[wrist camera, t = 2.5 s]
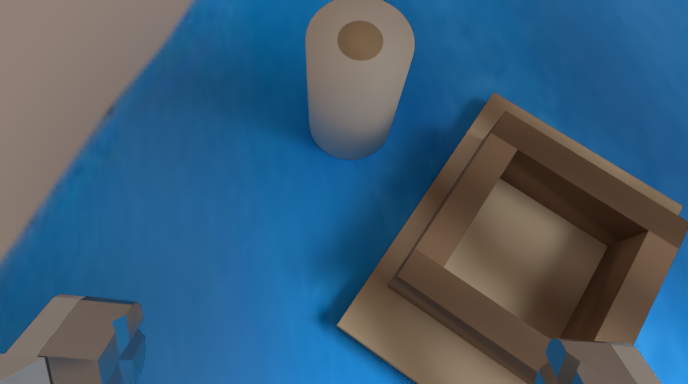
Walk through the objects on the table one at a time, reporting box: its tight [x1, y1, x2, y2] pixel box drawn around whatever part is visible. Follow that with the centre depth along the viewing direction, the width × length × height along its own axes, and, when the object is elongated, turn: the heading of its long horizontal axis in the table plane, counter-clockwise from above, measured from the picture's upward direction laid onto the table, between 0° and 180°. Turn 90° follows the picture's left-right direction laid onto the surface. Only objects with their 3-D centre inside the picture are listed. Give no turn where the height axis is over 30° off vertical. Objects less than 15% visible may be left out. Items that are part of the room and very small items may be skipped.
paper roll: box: [305, 0, 415, 160], centre depth 26 cm, size 5×5×8 cm
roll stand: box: [337, 92, 688, 384], centre depth 25 cm, size 16×12×5 cm
